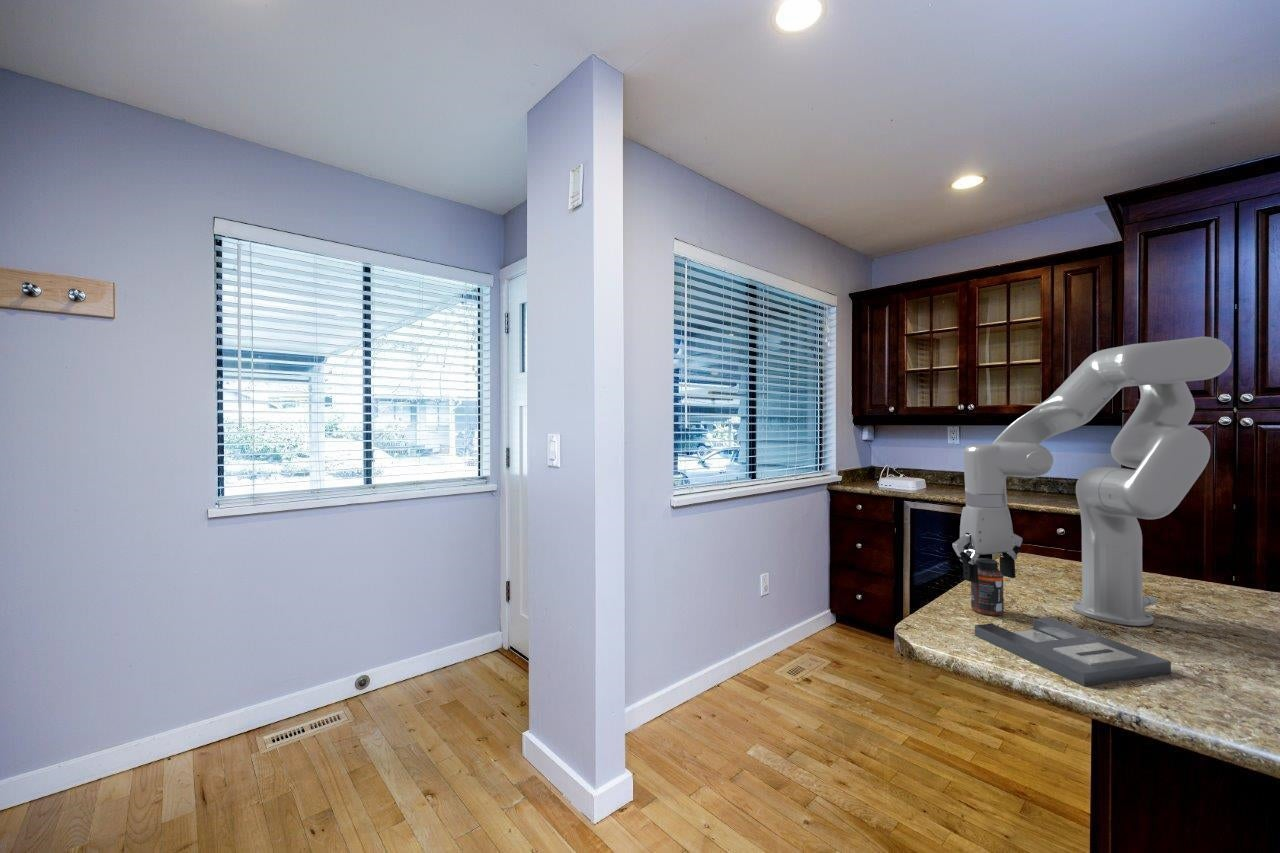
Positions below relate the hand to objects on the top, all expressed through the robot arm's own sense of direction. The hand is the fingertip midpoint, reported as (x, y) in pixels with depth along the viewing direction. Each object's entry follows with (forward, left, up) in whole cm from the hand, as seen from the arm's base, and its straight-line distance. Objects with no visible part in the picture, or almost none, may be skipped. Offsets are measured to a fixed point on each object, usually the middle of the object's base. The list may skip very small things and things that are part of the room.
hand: (989, 578), depth 112 cm
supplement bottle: (0, 0, -8) cm, 8 cm away
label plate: (+5, +20, -7) cm, 22 cm away
